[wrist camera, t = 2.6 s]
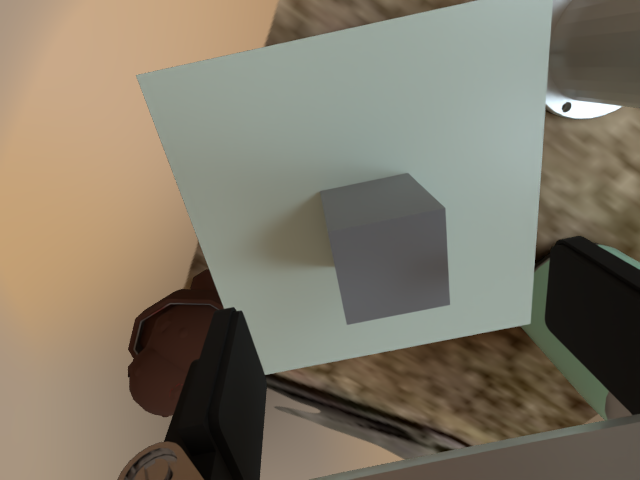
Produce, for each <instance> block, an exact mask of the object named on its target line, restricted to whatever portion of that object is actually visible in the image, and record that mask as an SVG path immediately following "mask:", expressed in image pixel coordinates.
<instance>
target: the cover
mask: <svg viewBox="0 0 640 480" xmlns="http://www.w3.org/2000/svg"><path fill="white" fill-rule="evenodd" d="M552 6H553V0H477V1H472V2H468V3H463V4H459V5H454V6H450V7H445V8H440V9H436V10H431V11H427V12H422V13H418V14H413V15H408V16H404V17H399V18H395V19H390V20H386V21H381V22H376V23H372V24H367V25H363V26H358V27H354V28H349V29H345V30H340V31H335V32H331V33H326V34H322V35H317V36H313V37H308V38H303V39H299V40H294V41H290V42H285V43H281V44H276V45H271V46H267V47H262V48H258V49H254V50H249V51H244V52H239V53H236V54H231V55H226V56H221V57H217V58H212V59H208V60H203V61H198V62H194V63H190V64H185V65H181V66H176V67H171V68H166V69H162V70H157V71H153V72H148V73H144V74H139V75H136V77H137V79H138V82H139V85H140V87H141V90H142V93H143V95H144V98H145V101H146V103H147V106H148V108H149V111H150V114H151V116H152V119H153V122H154V124H155V127H156V130H157V132H158V135H159V138H160V140H161V143H162V145H163V148H164V151H165V154H166V156H167V159H168V162H169V164H170V166H171V169H172V172H173V175H174V177H175V180H176V183H177V185H178V188H179V191H180V193H181V196H182V199H183V201H184V204H185V206H186V209H187V212H188V214H189V217H190V220H191V222H192V225H193V228H194V230H195V233H196V236H197V238H198V241H199V244H200V246H201V249H202V251H203V254H204V257H205V259H206V262H207V265H208V267H209V270H210V273H211V275H212V278H213V281H214V283H215V286H216V289H217V291H218V294H219V296H220V299H221V302H222V304H223V307H224V309H226V308H231V307H234V308H235V309H236V311H240V310H241V311H242V312H243V314H244V316H245V319H246V322H247V325H248V328H249V331H250V334H251V336H252V339H253V342H254V345H255V348H256V351H257V353H258V356H259V359H260V362H261V365H262V368H263V371H264V373H265V375H267V374H272V373H277V372H283V371H288V370H293V369H298V368H303V367H309V366H314V365H319V364H324V363H329V362H335V361H340V360H345V359H350V358H355V357H361V356H366V355H371V354H376V353H381V352H387V351H392V350H397V349H402V348H407V347H413V346H418V345H423V344H428V343H433V342H439V341H444V340H449V339H454V338H459V337H465V336H470V335H475V334H480V333H485V332H491V331H496V330H501V329H506V328H511V327H517V326H522V325H527V324H531V309H532V295H533V280H534V266H535V251H536V237H537V223H538V208H539V194H540V179H541V165H542V150H543V136H544V121H545V107H546V93H547V78H548V64H549V49H550V35H551V20H552Z"/></svg>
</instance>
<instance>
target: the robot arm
mask: <svg viewBox="0 0 640 480" xmlns="http://www.w3.org/2000/svg"><path fill="white" fill-rule="evenodd" d="M622 106H625V107H633V108H640V0H553V6H552V20H551V35H550V49H549V64H548V78H547V93H546V107H545V109H546V110H547V111H549V112H551V113H552V114H555V115H558V116H561V117H564V118H570V119H592V118H596V117H601V116H604V115H606V114H609V113H611V112H614V111H615V110H617V109H619V108H621V107H622ZM545 324H546V326H547V328H548V329H549V331H550V332H551V333H552V334H553V335H554V336H555V337H556V338H557V339H558V340H559V341H560V342H561V343H562V344H563V345H564V346H565V347H566V348H567V349H568V350H569V351H570V352H571V353H572V354H573V355H574V356H575V357H576V358H577V359H578V360H579V361H580V362H581V363H582V364H583V365H584V366H585V367H586V368H587V369H588V370H589V371H590V372H591V373H592V374H593V375H594V376H595V377H596V378H597V379H598V380H599V381H600V382H601V383H602V385H603V386H604V387H605V388H606V389H607V390H608V391H609V392H610V393H611V394H612V395H613V396H614V397H615V398H616V399H617V400H618V401H619V402H620V403H621V404H622V405H623V406H624V407H625V408H626V409H627V410H628V411H629V412H630V413H631V414H632V416H626V417H621V418H616V419H611V420H605V421H601V422H595V423H590V424H584V425H579V426H574V427H568V428H563V429H558V430H553V431H548V432H543V433H538V434H533V435H527V436H522V437H517V438H512V439H507V440H502V441H497V442H492V443H487V444H481V445H476V446H471V447H466V448H461V449H456V450H451V451H446V452H441V453H436V454H431V455H426V456H421V457H416V458H411V459H406V460H401V461H396V462H392V463H387V464H382V465H377V466H372V467H367V468H362V469H357V470H352V471H347V472H342V473H338V474H333V475H329V476H324V477H319V478H315V479H310V480H640V269H638V268H636V267H634V266H633V265H631V264H629V263H627V262H626V261H624V260H622V259H620V258H619V257H617V256H615V255H614V254H612V253H610V252H608V251H607V250H605V249H603V248H601V247H600V246H598V245H596V244H594V243H593V242H591V241H589V240H587V239H586V238H584V237H581V236H576V237H571V238H566V239H562V240H559V241H557V242H556V244H555V246H553V247H552V248H551V251H550V262H549V273H548V285H547V296H546V308H545ZM266 389H267V383H266V377H265V373H264V371H263V368H262V365H261V362H260V359H259V356H258V353H257V351H256V348H255V345H254V342H253V339H252V336H251V334H250V331H249V328H248V325H247V322H246V319H245V316H244V314H243V312H242V311H241V310H240V311H236V309H235V308H234V307H231V308H226V309H221V310H216V311H215V312H214V314H213V317H212V320H211V323H210V326H209V329H208V332H207V336H206V339H205V342H204V345H203V348H202V351H201V354H200V358H199V359H196V360H194V361H193V362H192V363H191V365H190V367H189V370H188V373H187V376H186V379H185V382H184V385H183V388H182V391H181V393H180V396H179V399H178V402H177V405H176V408H175V411H174V414H173V417H172V420H171V423H170V426H169V429H168V432H167V435H166V437H165V440H164V442H159V443H156V444H154V445H151V446H149V447H147V448H145V449H144V450H143V451H141V452H139V453H138V454H137V455H136V456H135V457H134V458H133V459H132V460H130V461H129V462H128V464H127V465H126V466H125V468H124V469H123V470H122V471H121V473H120V475H119V477H118V479H117V480H260V467H261V454H262V440H263V428H264V416H265V403H266Z"/></svg>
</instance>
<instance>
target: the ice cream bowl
mask: <svg viewBox="0 0 640 480" xmlns="http://www.w3.org/2000/svg"><path fill="white" fill-rule="evenodd" d="M221 309H224V307H223V304H222V302H221V299H220V296H219V294H218V291H217V289H216V286H215V283H214V281H213V278H212V275H211V273H210V270H205V271H203V272H202V273H200V274H199V275H197V276H195V277H194V279H193V282H192V285H191V289H181V290H178V291H175V292H173V293H172V294H170V295H168V296H167V297H165V298H163V299H162V300H160V301H159V302H157V303H155V304H154V305H152V306H151V307H149V308H147V309H146V310H144V311H143V312H142V313H141V314H140V315H139V316H138V317H137V318H136V319H135V323H134V327H133V331H132V335H131V339H130V344H129V348H128V350H129V352H130V353H131V355H132V357H133V358H134V359H133V362H132V363H131V364H130V365H129V366H128V377H130V381H129V382H130V383H129V384H130V385H129V388H130V392H131V395H132V397H133V399H134V400H135V401H136V402H137V403H138V404H139V405H140V406H141V407H142V408H143V409H144V410H145V411H148V412H149V413H152V414H155V415H160V416H162V417H168V416H171V415H173V414H174V411H175V408H176V405H177V402H178V399H179V396H180V393H181V391H182V388H183V385H184V382H185V379H186V376H187V373H188V370H189V367H190V365H191V363H192V362H193V361H194V360H196V359H199V358H200V354H201V351H202V348H203V345H204V342H205V339H206V336H207V332H208V329H209V326H210V323H211V320H212V317H213V314H214V312H215V311H216V310H221Z"/></svg>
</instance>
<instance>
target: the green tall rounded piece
mask: <svg viewBox="0 0 640 480" xmlns="http://www.w3.org/2000/svg"><path fill="white" fill-rule="evenodd" d="M594 244H596V245H598V246H600V247H601V248H603V249H605V250H607V251H608V252H610V253H612V254H614V255H615V256H617V257H619V258H620V259H622V260H624V261H626V262H627V263H629V264H631V265H633V266H634V267H636V268H638V269H640V263H639V262H637V261H636V260H634V259H632V258H631V257H629V256H627V255H625V254H624V253H622V252H620V251H619V250H617V249H615V248H613V247H610V246H606V245H602V244H598V243H594ZM549 262H550V254H548V255H547V256H546V257H544V258H543V259H542V260H540V261H539V262H538V263H536V264H535V266H534V280H533V295H532V309H531V324H527V325H522V326H520V327H521V328H522V329H523V330H524V331H525V332H526V333H527V334H528V336H529V337H530V338H531V339H532V340H533V341H534V342H535V344H536V345H537V346H538V347H539V348H540V349H541V350H542V351H543V353H544V354H545V355H546V356H547V357H548V358H549V359H550V361H551V362H552V363H553V364H554V365H555V366H556V367H557V368H558V370H559V371H560V372H561V373H562V374H563V375H564V376H565V378H566V379H567V380H568V381H569V382H570V383H571V384H572V385H573V387H574V388H575V389H576V390H577V391H578V392H579V393H580V395H581V396H582V397H583V398H584V399H585V400H586V401H587V402H588V404H589V405H590V406H591V407H592V408H593V409H594V410H595V411H596V412H597V413H598V414H599V415H600V416H601V417H602V418H603V419H604V420H611V419H616V418H621V417H626V416H632V414H631V413H630V412H629V411H628V410H627V409H626V408H625V407H624V406H623V405H622V404H621V403H620V402H619V401H618V400H617V399H616V398H615V397H614V396H613V395H612V394H611V393H610V392H609V391H608V390H607V389H606V388H605V387H604V386H603V385H602V383H601V382H600V381H599V380H598V379H597V378H596V377H595V376H594V375H593V374H592V373H591V372H590V371H589V370H588V369H587V368H586V367H585V366H584V365H583V364H582V363H581V362H580V361H579V360H578V359H577V358H576V357H575V356H574V355H573V354H572V353H571V352H570V351H569V350H568V349H567V348H566V347H565V346H564V345H563V344H562V343H561V342H560V341H559V340H558V339H557V338H556V337H555V336H554V335H553V334H552V333H551V332H550V331H549V329H548V328H547V326H546V324H545V308H546V296H547V285H548V273H549Z"/></svg>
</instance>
